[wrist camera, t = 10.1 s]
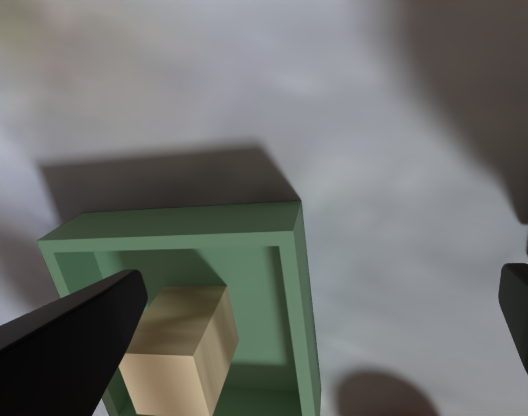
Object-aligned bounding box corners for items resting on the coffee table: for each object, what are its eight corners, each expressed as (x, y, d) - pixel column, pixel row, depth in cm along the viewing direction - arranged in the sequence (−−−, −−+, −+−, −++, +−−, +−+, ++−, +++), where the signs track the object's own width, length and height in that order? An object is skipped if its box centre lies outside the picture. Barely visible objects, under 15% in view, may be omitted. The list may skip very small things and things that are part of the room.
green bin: (301, 200, 21) (293, 230, 18) (321, 389, 27) (318, 442, 23) (81, 213, 25) (36, 240, 21) (139, 378, 30) (111, 422, 27)
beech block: (227, 285, 23) (193, 356, 18) (239, 340, 25) (210, 420, 20) (163, 286, 24) (113, 352, 19) (179, 338, 26) (136, 414, 21)
